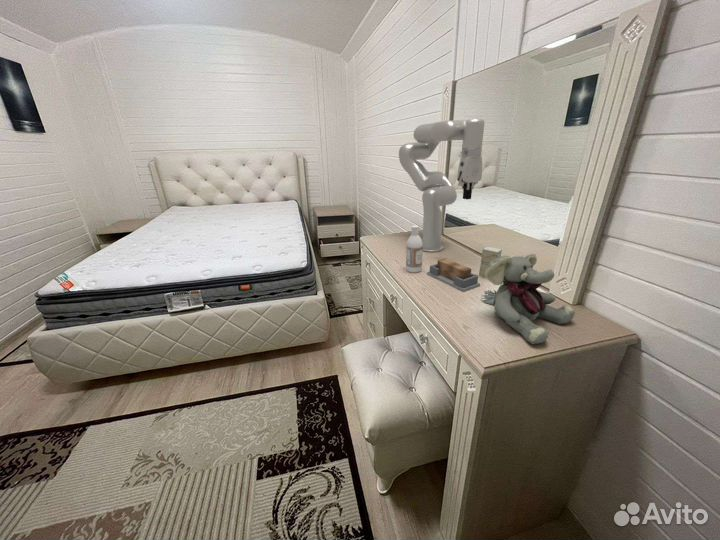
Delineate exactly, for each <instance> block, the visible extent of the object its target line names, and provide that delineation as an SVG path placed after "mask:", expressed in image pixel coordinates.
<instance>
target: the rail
mask: <svg viewBox="0 0 720 540" xmlns="http://www.w3.org/2000/svg"><path fill="white" fill-rule="evenodd" d="M439 271H440V269H439V268H437V263H435V264H431V265H429V271H427V272H426V275H428V276H430V277H432V278H433V279H436V280H438V281H440V282H442V283H445V284H446V285H449V286H451V287H453V288H454V289H456V290H459V291H460V292H463V293H464V292H467V291H469V290H473V289H475V288H478V287H480V286H481V283H480V282H479V281H478V280H479V275H477V274H474V273H472V272H471V277H469V278H466V279H461V278H459V277H457V276H456V277H454V281H452V280H450V279H448V278H446V277H443V276H441V275H439Z"/></svg>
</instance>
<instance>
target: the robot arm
mask: <svg viewBox="0 0 720 540" xmlns="http://www.w3.org/2000/svg"><path fill="white" fill-rule="evenodd" d="M484 130H485V120H484V119H483V118H470V119H465V120H464V119H461V120H459V119H457V120H455V119H453V120H443V121H437V122H431V123H426V124H425V123H424V124H420V125H418V126H417V127H415V129H414V131H413V135H412V136H413V138H414V139H413V140H415V141H416V142H407V143H404V144H403V145H401V146H400V147H399V150H398V159H399V163H400V165H401V167H402V168H403V170H404V171H405V172H406V173H407V174H408V176H409V177H410V179H411V180H412V182H413V184H414V185H415V187H416V188H417V190H418V191H420V192H423V193H422V196H421V200H422V207H423V218H422V222H423V223H422V236H420V238H421V240H422V243H423V252H426V251H427V253H437V252H441V250H442V251H443V250H444V248H445V247H444V245H442V243H441V242H442V232H443V231H442V230H443V213H442V210H441V207H443V206H449V205H452V204H454V203H455V202H456V200H457V197H458V196H457V190H456V188H455V187H454V185H453V184H452V183H451V181H450V180H449V178H448V177H447V175H446V174H445V173H444V172H441V171H439V170H438V171H429V170H427V168H425V166H424V165H423V164H422V163H421V161H418V160H427V159H428V158H430V157H431V156H432V154H433V153H434V151H435V150H436V149H437V147H438V146H439V145H440V142H448V141H449V142H450V141H462V145H461V147H462V148H461V152H460V154H461V156H460V159H459V164H458V169H457V176H456V178H457V182H458V184H457V186H459V187H461V188H462V199H464V200H471V199H472V195H473V194H472V193H473V190H474V187H475V185H477V184H478V183H479V182H480V181H482V179H483V178H482V175H483V156H482V148H483V141H484V140H483V139H484Z"/></svg>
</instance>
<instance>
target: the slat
mask: <svg viewBox="0 0 720 540" xmlns="http://www.w3.org/2000/svg"><path fill="white" fill-rule="evenodd" d="M436 262H437V263H436V264H437V268H439V269H440V271H439V275H441V276H443V277H446V278H448V279H450V280H452V281H454V277H456V276H457V277H459V278H461V279H466V278H469V277H471V273H472V268H471V267H469V266H466V265H463V264H461V263H458V262H456V261H452V260H451V259H448V258H446V257H445V258H441V259H438V260H437V261H436Z"/></svg>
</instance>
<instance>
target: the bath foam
mask: <svg viewBox="0 0 720 540" xmlns="http://www.w3.org/2000/svg"><path fill="white" fill-rule="evenodd" d="M419 228H420V227H419V225H411V235H410V236H409V238H408V239H407V241H406V246H405V247H406V251H405V252H406V255H405V269H406V271H407V272H408V273H420V272H421V271H422V269H423V252H424V251H423V243H422V240H421V236H420V234H419V230H420V229H419Z"/></svg>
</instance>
